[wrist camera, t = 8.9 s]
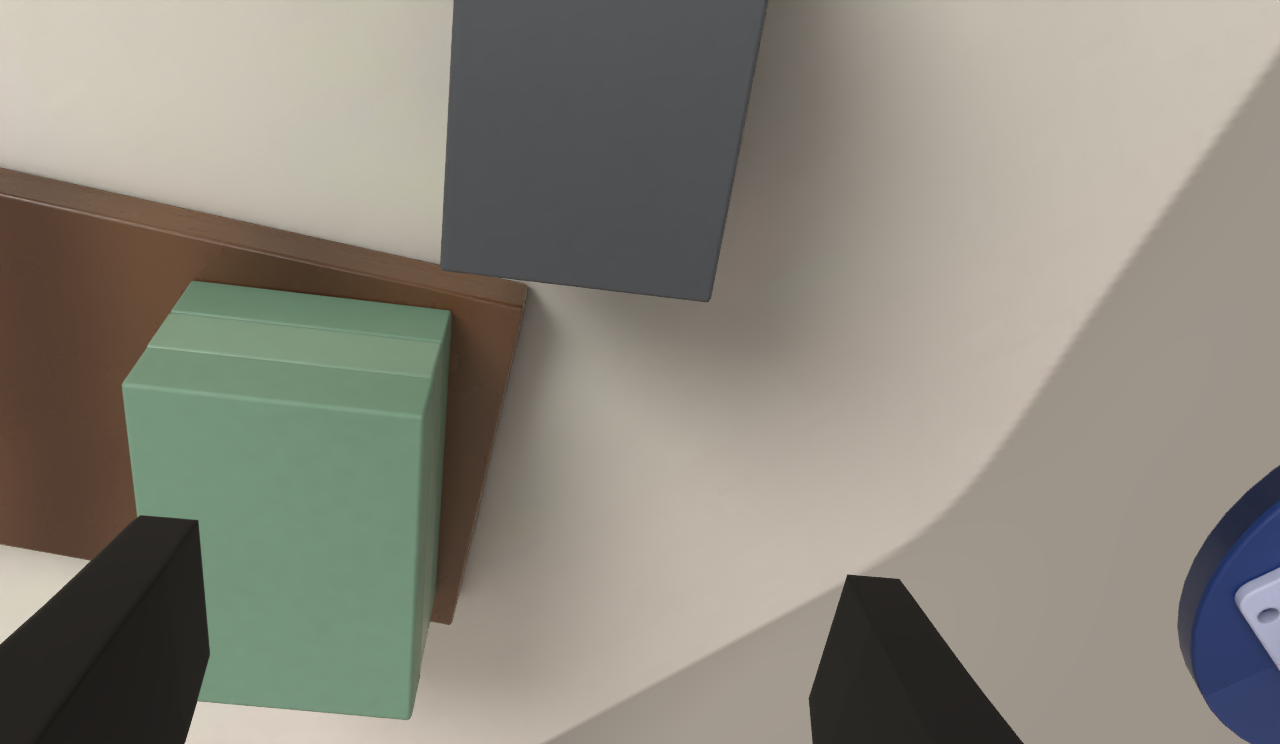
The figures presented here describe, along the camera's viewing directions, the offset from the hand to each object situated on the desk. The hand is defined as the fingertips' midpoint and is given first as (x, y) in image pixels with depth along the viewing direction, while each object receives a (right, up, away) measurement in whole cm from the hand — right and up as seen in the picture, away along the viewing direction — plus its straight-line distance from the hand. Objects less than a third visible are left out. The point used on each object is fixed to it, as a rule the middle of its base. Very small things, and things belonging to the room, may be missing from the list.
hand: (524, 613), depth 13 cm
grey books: (+1, +9, +7) cm, 11 cm away
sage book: (-5, 0, +8) cm, 10 cm away
